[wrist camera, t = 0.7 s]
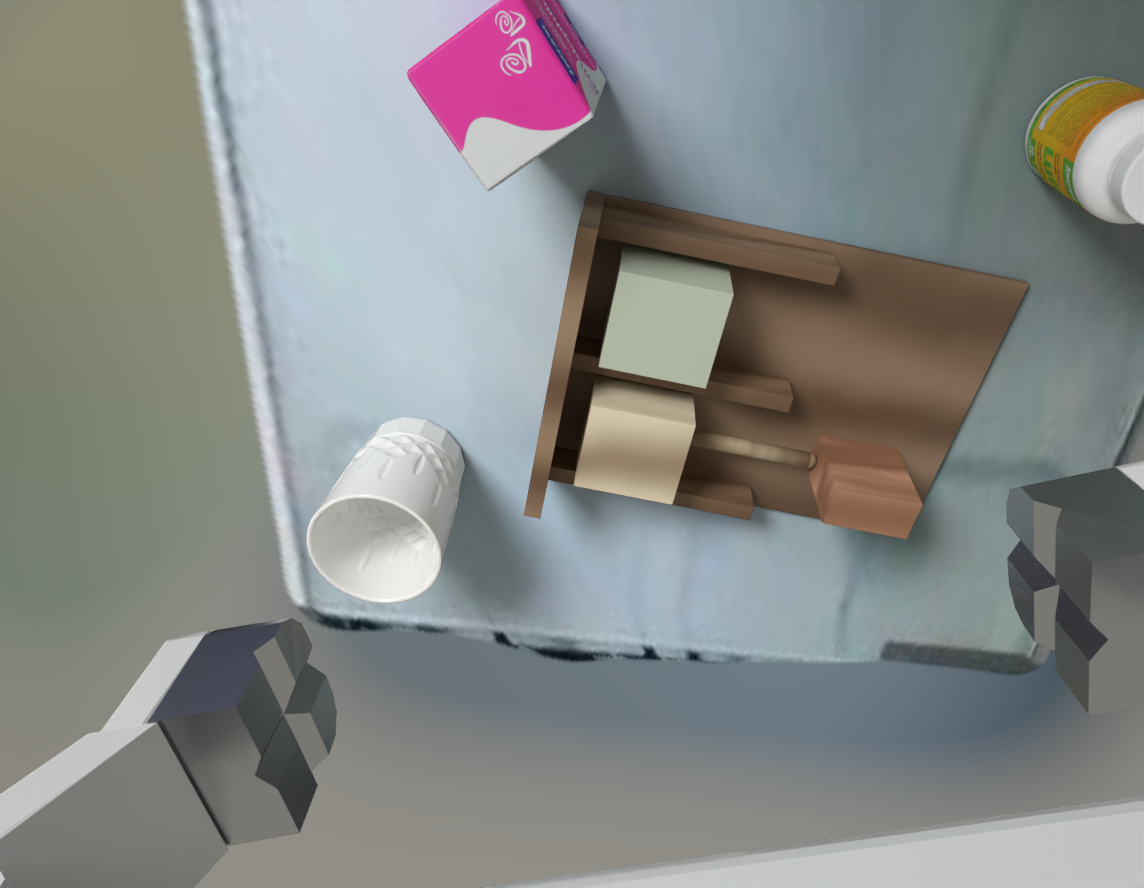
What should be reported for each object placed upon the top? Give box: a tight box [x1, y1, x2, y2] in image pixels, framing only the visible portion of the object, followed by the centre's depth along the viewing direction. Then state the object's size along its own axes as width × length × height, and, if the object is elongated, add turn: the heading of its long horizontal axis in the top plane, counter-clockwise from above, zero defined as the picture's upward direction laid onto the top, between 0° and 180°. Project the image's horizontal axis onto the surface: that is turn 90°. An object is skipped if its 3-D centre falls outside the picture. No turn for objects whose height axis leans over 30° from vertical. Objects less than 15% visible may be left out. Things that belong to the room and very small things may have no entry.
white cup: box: [307, 417, 465, 603], centre depth 54 cm, size 8×8×10 cm
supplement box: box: [407, 0, 606, 191], centre depth 40 cm, size 6×6×12 cm
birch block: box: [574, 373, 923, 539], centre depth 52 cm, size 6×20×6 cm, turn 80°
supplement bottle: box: [1025, 76, 1144, 225], centre depth 40 cm, size 5×5×10 cm
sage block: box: [599, 242, 734, 389], centre depth 48 cm, size 6×6×5 cm
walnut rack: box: [524, 191, 1029, 520], centre depth 50 cm, size 18×25×6 cm
